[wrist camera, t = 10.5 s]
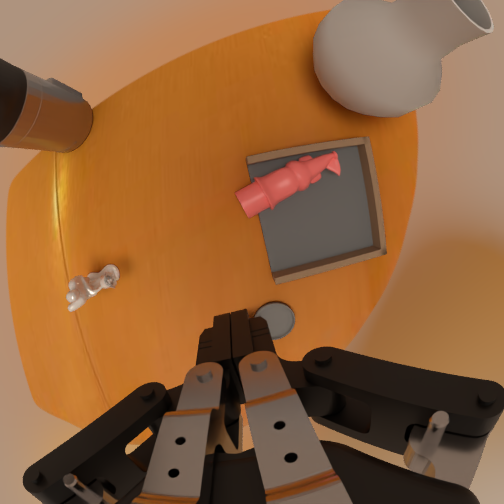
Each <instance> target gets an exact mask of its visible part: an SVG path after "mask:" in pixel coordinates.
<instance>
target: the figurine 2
mask: <svg viewBox="0 0 504 504" xmlns="http://www.w3.org/2000/svg"><path fill="white" fill-rule="evenodd" d="M325 168H327V169H329V170H331V171H332V172H334V173H336V174H337V175H338V176H340V172H341V169H340V164H339V161H338V155H337V153H336V152H335V151H332V153H329V154H324V155H321V156H318V157H315V158H312V157H311V156H310V155H307V156H303V157H301V158H299V161H290V162H288V163H287V164H286V165H285V167H284V168H280V169H277V170H275V171H273V172H271V173H269V174H267V175H265V176H263V177H254V180H255V182H253V183H251V184H249V185H248V186H246V187H244V188H242V189H240V190H239V191H237V192H235V195H236V196H237V198H238V200H239V202H240V204H241V205H242V207H243V209H244V211H245V212H246V214H247V216H248V218H251V217H253V216H254V215H256V214H258V213H260V212H262V211H263V210H265V209H267V208H269V207H270V209H271V210H273V209H274V207H275V206H276V205H277V204H278V203H279V202H281V201H283V200H285V199H286V198H288V197H290V196H291V195H293V194H294V193H296V192H297V191H304V190H306V189H307V188H308V187H309V185H310V183H312V184H313V183H315V182H317V181H318V180H320V179H321V172H322V171H323V170H324V169H325Z"/></svg>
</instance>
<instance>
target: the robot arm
mask: <svg viewBox="0 0 504 504" xmlns="http://www.w3.org/2000/svg"><path fill="white" fill-rule="evenodd" d="M92 119H93V115H92V109H91V107H90V105H89V104H88V102H87V101H85V100H84V99H83V98H82V93H80V92H78V91H76V90H74V89H72V88H71V87H69V86H67V85H65V84H63V83H61V82H59V81H57V80H55V79H54V78H49V79H47V80H44V79H41V78H39V77H37V76H35V75H33V74H31V73H28V72H26V71H24V70H22V69H20V68H18V67H16V66H13V65H11V64H10V63H8V62H6V61H4V60H2V59H0V147H12V148H24V149H35V150H45V151H54V152H63V153H64V152H70V151H73V150H74V149H76V148H78V147H79V146H80V145H81V144H82V143H83V142H84V140H85V139H86V137H87V136H88V134H89V132H90V129H91V126H92ZM244 403H245V409H246V413H247V418H248V422H249V427H250V431H251V436H252V440H253V444H254V448H252V449H249V450H246V451H244V452H242V437H243V436H242V435H243V418H242V415H241V407H240V404H244ZM503 410H504V388H503V387H502V386H501V385H500V384H498V383H496V382H494V381H489V380H482V379H475V378H469V377H463V376H457V375H452V374H446V373H441V372H436V371H430V370H425V369H421V368H416V367H411V366H406V365H402V364H397V363H393V362H389V361H385V360H380V359H376V358H372V357H368V356H364V355H360V354H357V353H353V352H349V351H345V350H342V349H338V348H334V347H320V348H316V349H313V350H311V351H310V352H308V353H307V354H306V355H305V356H304V357H303V360H302V361H286V360H283V359H281V358H280V357H278V355H277V354H276V351H275V348H274V344H273V341H272V337H271V334H270V330H269V327H268V323H267V320H265V319H264V318H262V317H261V316H259V317H255V318H251V319H249V315H248V312H247V309H243V310H239V311H235V312H231V314H230V313H226V314H222V315H218V316H214V321H213V327H212V328H208V329H205V330H204V331H203V332H202V334H201V335H200V338H199V345H198V352H197V359H196V366H195V367H193V368H192V369H190V370H189V371H188V373H187V374H186V377H185V380H184V384H182V385H180V386H177V387H175V388H172V389H169V390H166V388H165V386H164V385H163V384H161V383H157V382H151V383H147V384H144V385H142V386H140V387H138V388H137V389H136V390H134V391H133V392H132V393H131V394H129V395H128V396H127V397H125V398H124V399H123V400H121V401H120V402H119V403H117V404H116V405H115V406H113V407H112V408H111V409H110V410H108V411H107V412H106V413H104V414H103V415H102V416H100V417H99V418H97V419H96V420H95V421H93V422H92V423H91V424H89V425H88V426H87V427H85V428H84V429H83V430H81V431H80V432H78V433H77V434H76V435H74V436H73V437H71V438H70V439H69V440H67V441H66V442H64V443H63V444H62V445H60V446H59V447H57V448H56V449H55V450H53V451H52V452H50V453H49V454H47V455H46V456H44V457H43V458H42V459H40V460H39V461H37V462H36V463H34V464H33V465H31V466H30V467H29V468H28V469H27V470H26V471H25V473H24V476H23V485H24V487H25V489H26V490H27V491H28V492H30V493H31V494H32V495H33V496H35V497H36V498H37V499H38V500H40V501H41V502H42V503H43V504H480V503H479V501H478V499H477V497H476V496H475V495H474V494H473V493H472V492H471V491H470V490H469V487H470V485H471V482H472V480H473V478H474V475H475V472H476V470H477V467H478V464H479V462H480V459H481V456H482V453H483V450H484V447H485V443H486V440H487V438H488V436H489V435H490V433H491V431H492V430H493V428H494V426H495V424H496V423H497V421H498V419H499V417H500V415H501V414H502V412H503ZM308 417H312V419H313V420H314V421H315V422H317V423H318V424H321V425H323V426H325V427H328V428H330V429H332V430H335V431H337V432H339V433H342V434H344V435H347V436H349V437H352V438H355V439H357V440H360V441H362V442H365V443H368V444H371V445H373V446H376V447H379V448H382V449H385V450H388V451H391V452H394V453H397V454H401V455H404V457H403V458H404V463H405V465H406V466H407V467H408V468H409V469H410V470H411V471H410V470H407V469H404V468H401V467H398V466H396V465H393V464H390V463H388V462H385V461H383V460H380V459H377V458H375V457H373V456H370V455H368V454H365V453H363V452H361V451H358V450H356V449H354V448H351V447H349V446H347V445H344V444H340V443H336V442H331V441H323V440H319V439H318V437H317V435H316V433H315V430H314V428H313V426H312V424H311V422H310V420H309V418H308ZM147 427H149V429H150V430H151V431H152V433H153V435H151V436H150V437H149V438H148V439H147V440H146V441H145V442H143V443H142V444H141V445H140V446H139V447H137V449H135V450H134V451H133V452H132V453H130V454H127V455H126V453H125V448H126V445H127V444H128V443H129V442H131V441H132V440H133V439H134V438H135V437H137V436H138V435H139V434H140V433H141V432H143V431H144V430H145V429H146V428H147ZM413 471H414V472H413Z"/></svg>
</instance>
